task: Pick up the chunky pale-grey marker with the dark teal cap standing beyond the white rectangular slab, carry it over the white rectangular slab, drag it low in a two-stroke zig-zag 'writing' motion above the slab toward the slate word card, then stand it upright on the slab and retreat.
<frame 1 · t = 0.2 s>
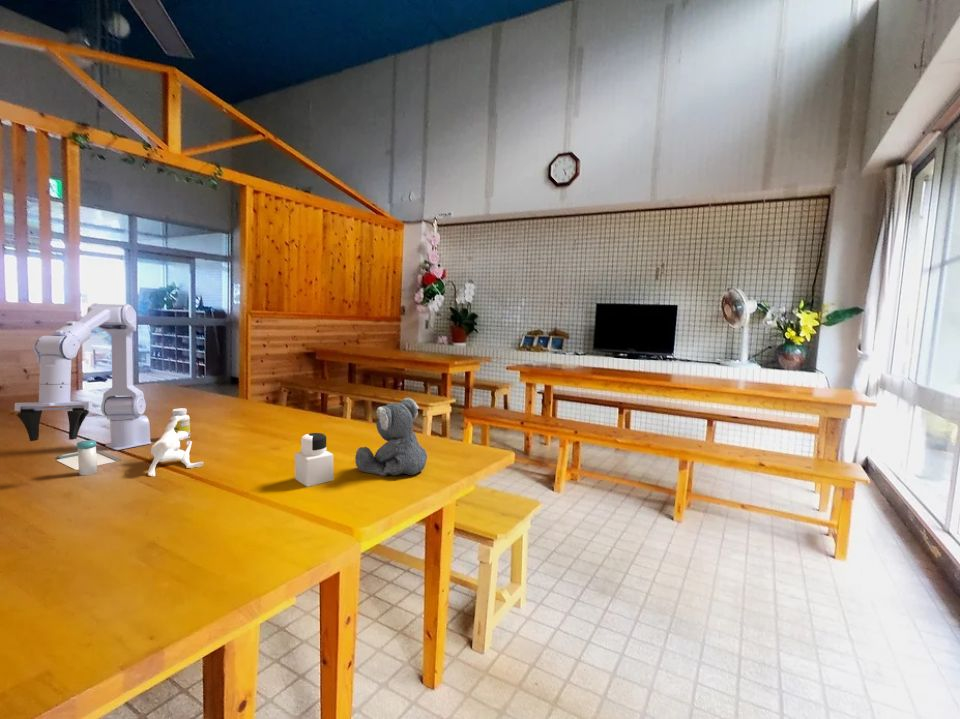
hand: (53, 439, 113), 10 cm above the table, tool pointing down, fingers open, 7 cm apart
white rectangular slab: (88, 460, 129), on the table
marker: (88, 473, 120), on the table
medicine bottle: (314, 481, 119), on the table
person figurine: (172, 464, 129), on the table
koala plush: (396, 469, 129), on the table
supplement bottle: (180, 438, 154), on the table
word card: (76, 454, 134), on the table
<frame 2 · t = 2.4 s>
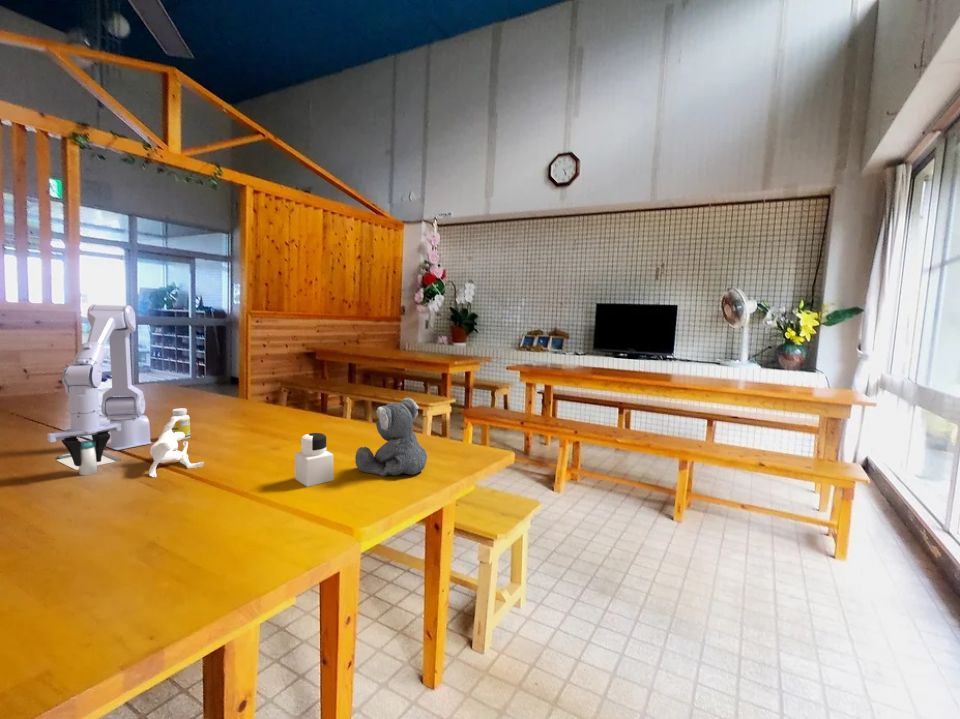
hand: (87, 463, 120), 3 cm above the table, tool pointing down, fingers closed on marker, 4 cm apart
marker: (88, 473, 120), on the table, touching gripper
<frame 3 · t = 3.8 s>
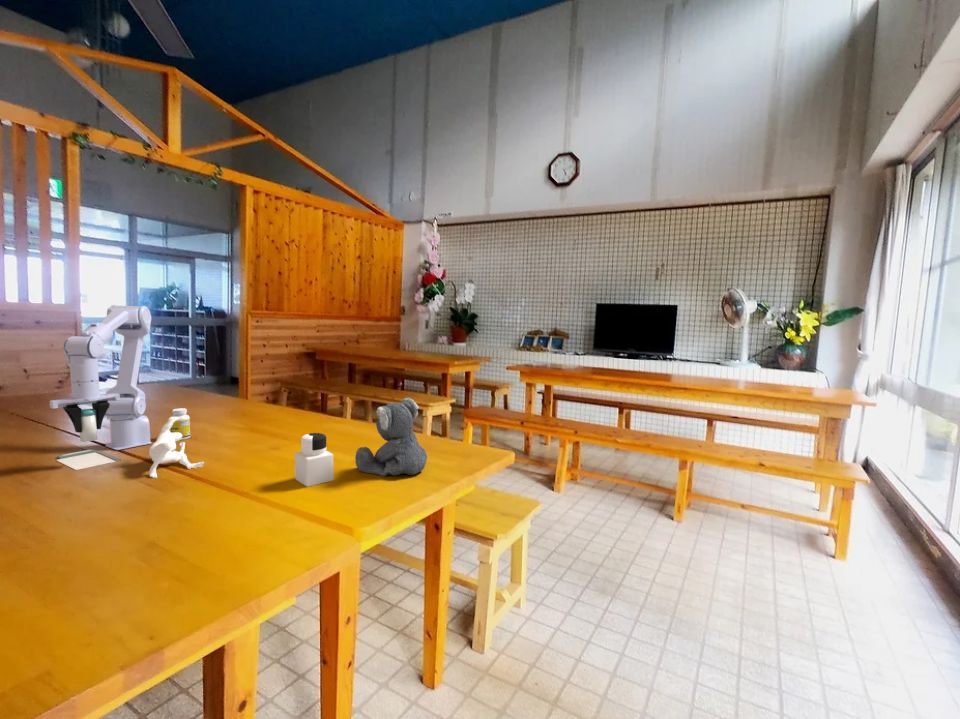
hand: (88, 430, 125), 10 cm above the table, tool pointing down, fingers closed on marker, 4 cm apart
marker: (88, 439, 126), point 7 cm above the table, touching gripper
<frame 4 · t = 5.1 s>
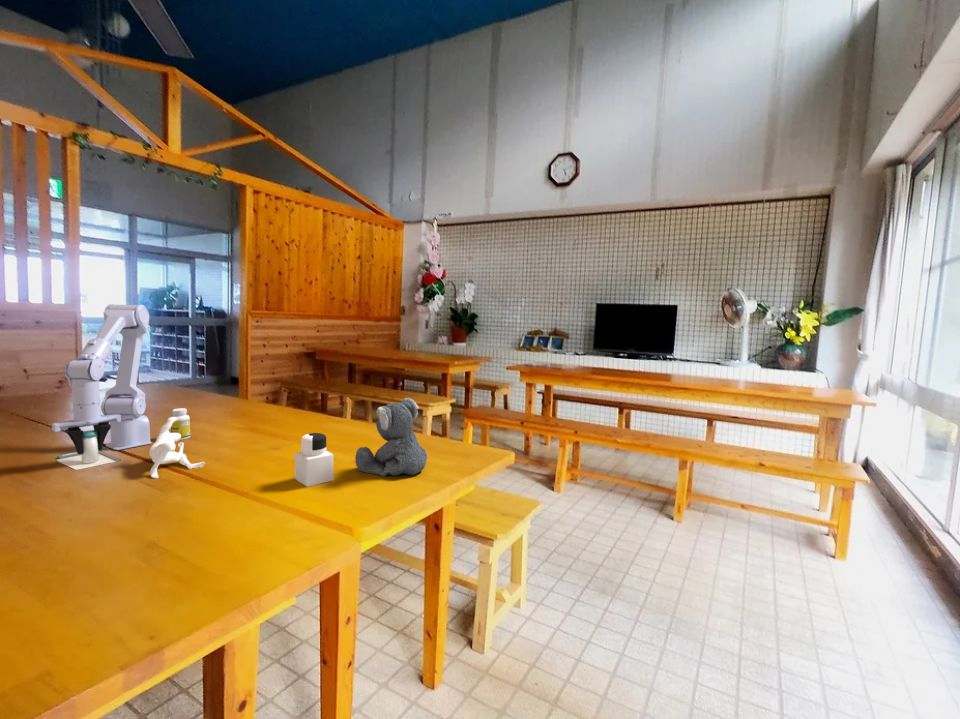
hand: (89, 451, 127), 3 cm above the table, tool pointing down, fingers closed on marker, 4 cm apart
marker: (90, 461, 128), resting on white rectangular slab, touching gripper
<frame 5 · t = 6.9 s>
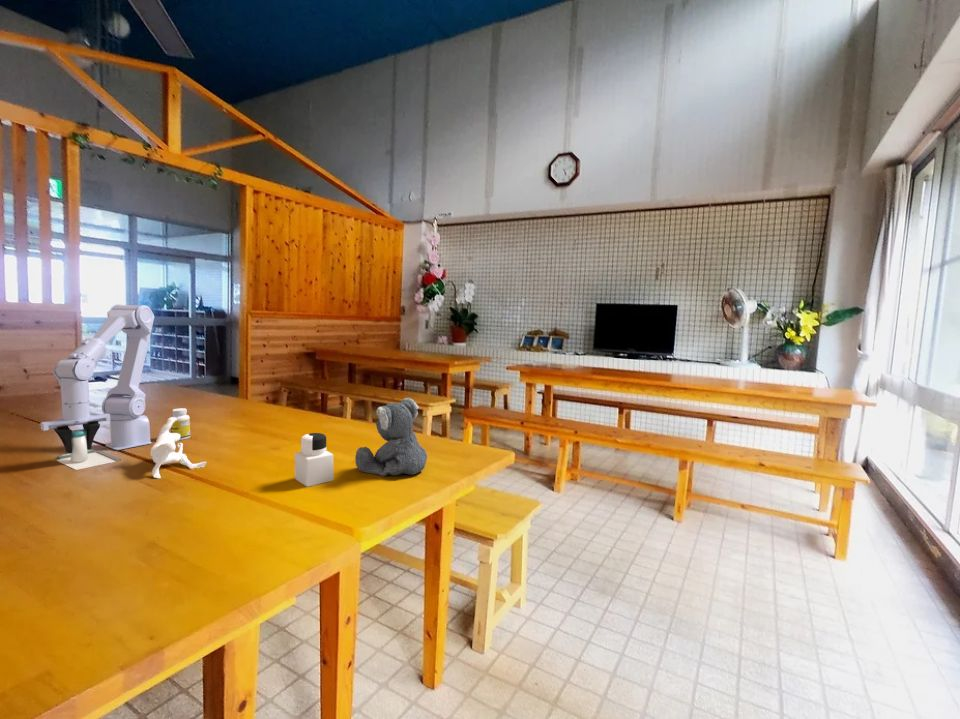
hand: (78, 450, 128), 3 cm above the table, tool pointing down, fingers closed on marker, 4 cm apart
marker: (79, 460, 128), point 1 cm above the table, touching gripper
when the fingers open (3 cm above the table, at t = 8.1 s): marker stays where it is, resting on white rectangular slab.
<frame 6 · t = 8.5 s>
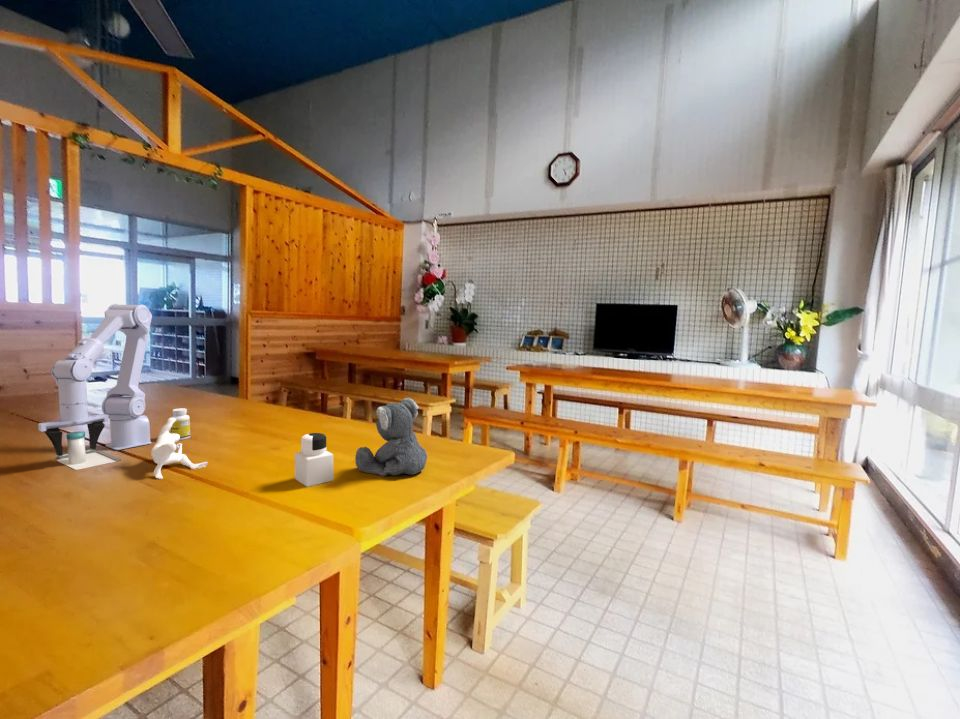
hand: (76, 451, 127), 3 cm above the table, tool pointing down, fingers open, 7 cm apart
marker: (77, 462, 127), resting on white rectangular slab
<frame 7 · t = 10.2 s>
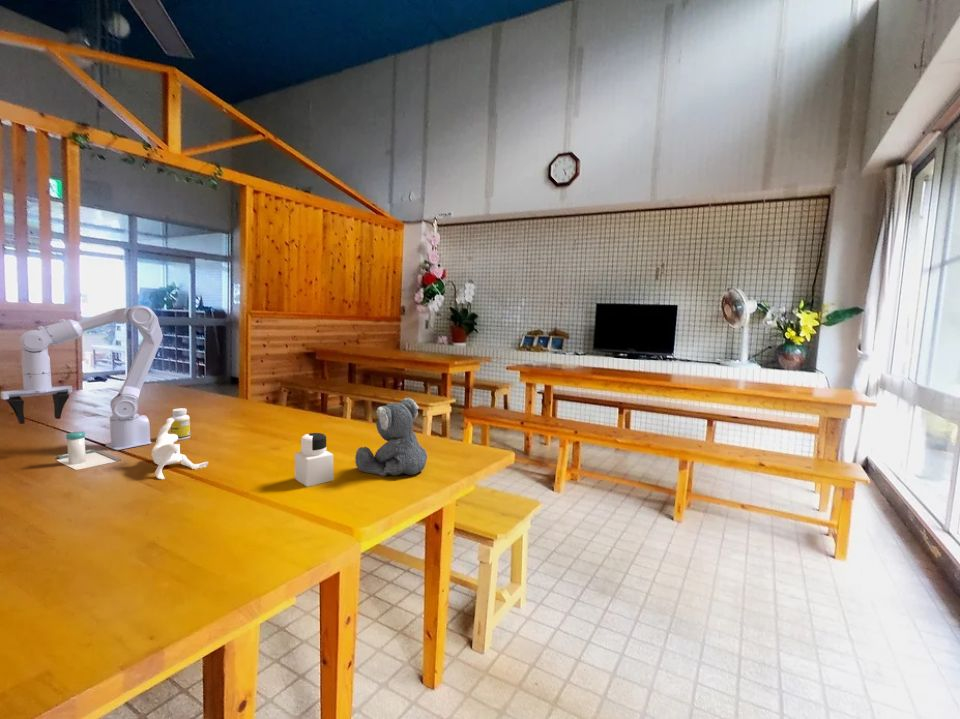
hand: (40, 420, 131), 10 cm above the table, tool pointing down, fingers open, 7 cm apart
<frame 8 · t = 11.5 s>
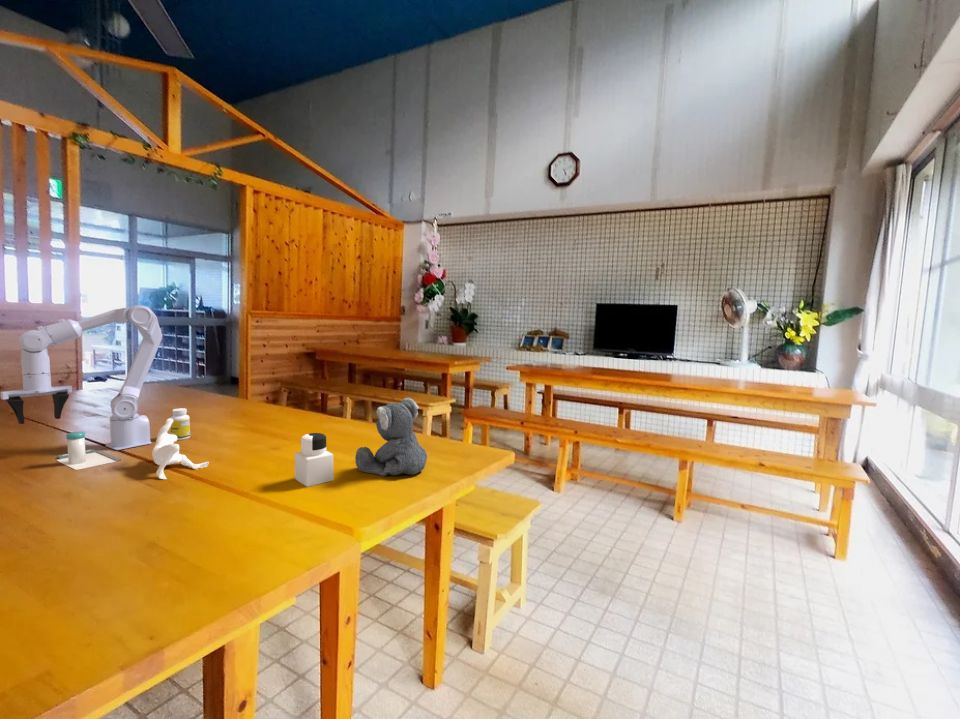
hand: (39, 420, 131), 10 cm above the table, tool pointing down, fingers open, 7 cm apart
at the end: marker inside the target area (2.3 cm from its centre), resting on white rectangular slab; marker tilted 0°; the gripper is holding nothing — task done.
